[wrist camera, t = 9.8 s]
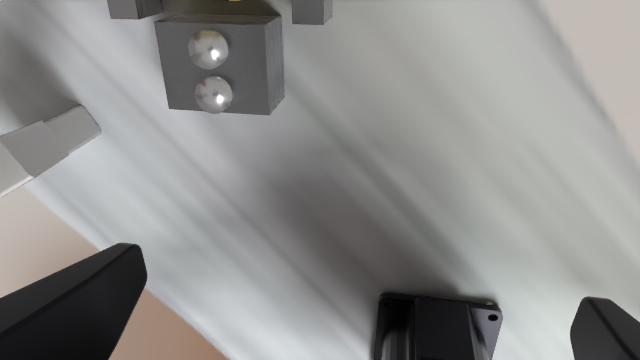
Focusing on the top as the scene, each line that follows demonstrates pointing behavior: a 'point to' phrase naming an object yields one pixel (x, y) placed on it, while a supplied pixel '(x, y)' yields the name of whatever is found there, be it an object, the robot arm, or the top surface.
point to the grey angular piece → (42, 146)
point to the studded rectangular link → (222, 55)
